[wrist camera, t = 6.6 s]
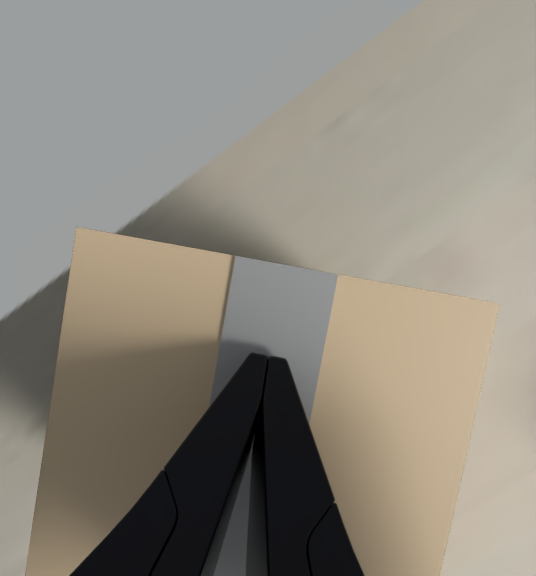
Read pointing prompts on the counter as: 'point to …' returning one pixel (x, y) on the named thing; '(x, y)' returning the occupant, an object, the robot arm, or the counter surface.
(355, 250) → the counter surface
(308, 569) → the robot arm
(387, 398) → the carton lid
